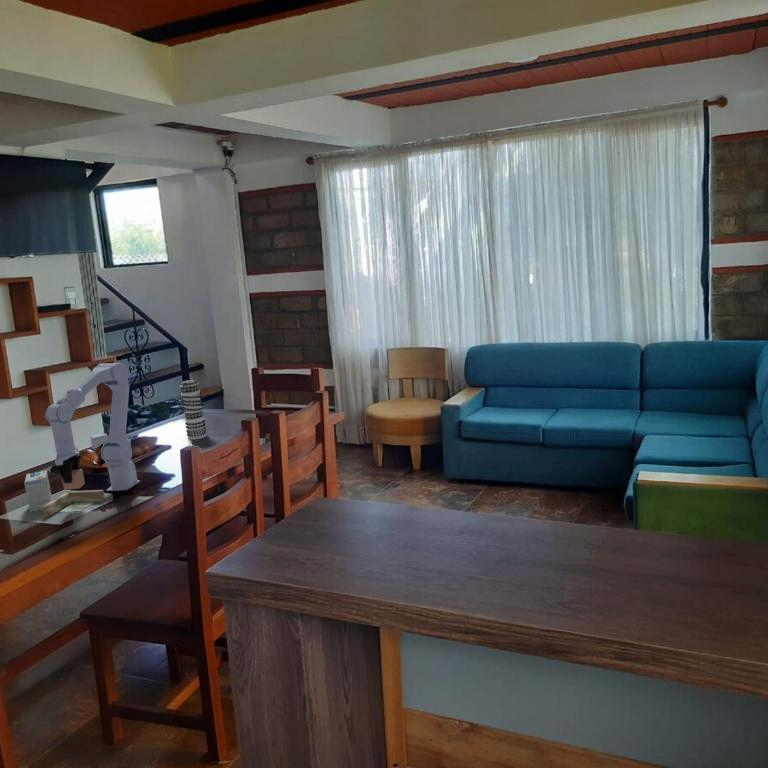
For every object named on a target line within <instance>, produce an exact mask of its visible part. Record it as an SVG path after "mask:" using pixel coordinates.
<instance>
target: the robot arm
mask: <svg viewBox="0 0 768 768" xmlns="http://www.w3.org/2000/svg"><path fill="white" fill-rule="evenodd" d="M129 371H130V370H129V369H128V368H127V367H126V365H125V364H124V363H122V362H116V363H114V362H113V363H111V362H110V363H102V362H101V363H99V364H97V365H96V366H95V367H94V368H92V371H91V373H90V374H89V375H88V376H87V378H86V379H84V380H83V382H82V383H80V384H79V386H78V387H77V388H75V387H74V388H71V389H67V390H66V393H65V394H64V395H63V396H62V397H61V398H59V399H58V400H57V401H56V402H55V403H53V404H50V405H49V406H48V407H47V408H46V410H45V414H44V417H45V419H46V420H47V421H48V423H49V426H50V427H51V431H52V435H53V441H54V447H55V451H56V457H55V459H54V464H53V467H54V468H55V470H57V471H58V473H59V475H60V476H61V480H62V479H63V481H64V483H71V482H72V470H78V469H79V467H80V462H81V458H82V454H80V451H79V447H78V446H76V445H75V441H74V433H73V430H72V425H71V420H72V418H73V416H74V412H75V411H76V410H77V409H78V408H80V406H81V405H82V404H83V403H84V402H85V400H86V395H88V394H89V393H90V392H91V391H92V390H94V389H95V388H96V387H98V386H99V384H101V383H103V384H104V385H105V386H107V387H109V388H110V390H111V391H112V395H111V408H110V416H109V418H110V419H109V420H110V421H109V432H108V433H109V434H108V437H107V438H106V439H105V440H104V443H103V447H102V449H101V458H102V459H103V460H104V461H105V462H106V464H107V465H106V466H107V471H108V474H109V475H108V476H109V481H110V486H109V488H107V489H106V492H110V491H111V492H112V491H114V492H115V491H116V492H117V491H128V490H130V489H131V488H132V487H134V486H136V485H137V484H139V483H140V482H141V479H138V475H137V470H136V469H137V468H136V465H135V462H134V461H132V460H131V459H132V457H133V450H132V442H131V440H130V439H129V438H128V437H127V436H126V435H127V423H128V422H127V421H128V412H129V411H128V410H129V409H128V408H129V399H130V398H129V395H130V384H129ZM75 446H76V447H75ZM63 481H62V482H63Z"/></svg>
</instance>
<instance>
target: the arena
mask: <svg viewBox="0 0 768 768" xmlns="http://www.w3.org/2000/svg"><path fill="white" fill-rule="evenodd" d="M104 501H106V495H105V490H104V489H93V490H92V489H91V490H89V489H88V490H69V491H66V492H64V493H63V494H61V495H60V496H57V497H56V498H54V499H52V501H51V502H49V503H47V504H46V505H44V506H42V507H41V508H42V510H41V511H42V513H41V514H42V517H43V518H49V517H50V516H52V515H54V514H56V513H57V512H58V513H69V512H70V513H73V511H74V512H75V511H79V512H82V511H83V510H85V509H87V508H88V507H91V505H93V504H94V503H95V502H104ZM71 502H74V503H73V504H72V503H71ZM68 504H69V505H68ZM71 505H72V506H71ZM55 512H56V513H55ZM75 513H76V512H75Z"/></svg>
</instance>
